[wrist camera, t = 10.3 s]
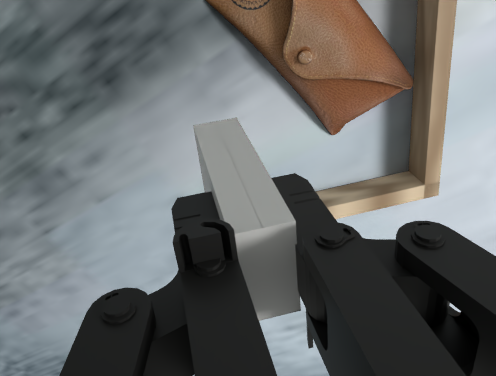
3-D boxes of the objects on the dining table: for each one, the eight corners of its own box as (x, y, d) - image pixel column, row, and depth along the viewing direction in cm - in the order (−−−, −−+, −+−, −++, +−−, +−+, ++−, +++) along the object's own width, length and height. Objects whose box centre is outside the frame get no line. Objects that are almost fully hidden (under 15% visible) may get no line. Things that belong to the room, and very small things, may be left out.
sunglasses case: (189, -7, 34) (235, -39, 28) (237, -73, 35) (289, -116, 30) (335, 141, 42) (393, 139, 36) (368, 82, 44) (428, 71, 38)
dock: (308, 206, 45) (318, 223, 42) (283, -123, 31) (296, -128, 29) (421, 180, 46) (438, 195, 44) (445, -146, 33) (471, -153, 30)
